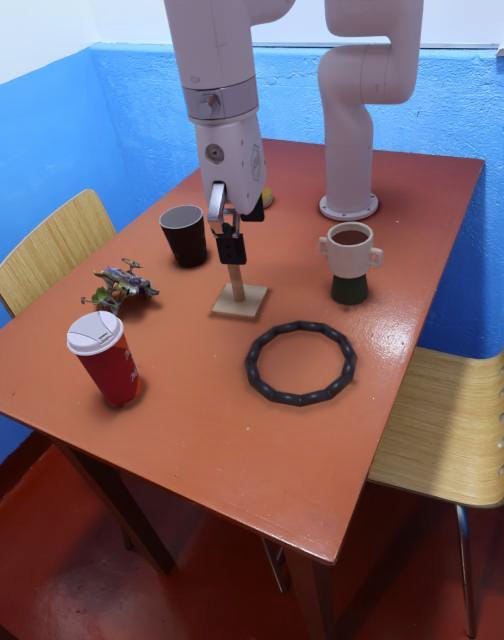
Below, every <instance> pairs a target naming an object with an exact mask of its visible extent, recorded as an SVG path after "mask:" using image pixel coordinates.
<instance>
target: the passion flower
mask: <svg viewBox="0 0 504 640" xmlns="http://www.w3.org/2000/svg"><path fill="white" fill-rule="evenodd" d="M121 261H122V262H123V263H126V264H128V265H129V269H128V270H126V271H124V270H123V269H122V268H118V267H115V266H106V268H104V270H101V271H100V273H99V272H96V270H92V273H93V275H94V276H95V277H97V278H100V279H102V280H103V281H104V283H105V285H106V287H104V286H103V285H101V286H100V287H97V288H96V289H95V293H93V294H92V295H91V300H88V299H87V300H86V296H81V297H80V303H81V304H82V305H85V304H86V303H91V304H93V306H97V305H99V304H100V310H99V311H105V308H106V307H107V306H109V308H110V310H111V313H112V314H113V315H115V316H116V317H117V314H118V313H119V312H120V310H121V309H122V306H121V305H122V304H123V303H124V300H125V299H126V298H127V297H128V296H131V297H134V296H136V295H139V296H141V297H142V298H146V299H153V296H159V295H160V290H157V289H154V288H153V283H152V282H150V280H149V279H144V278H142V277H139V276H138V275H136V274H135V273H134V272H133V269H141V268H144V266H142V265H141V264H140V263H139V262H136V261H135V260H131V259H128V258H125V257H121ZM115 284H116V285H115ZM114 292H119V295H118V298H117V299H115V298H114V296H113V293H114ZM123 292H124V293H125V294H124V296H123V297H122V299H121V295H122V293H123ZM110 301H111V302H113V303H114V304H111V303H109V302H110Z"/></svg>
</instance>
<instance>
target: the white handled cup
mask: <svg viewBox="0 0 504 640" xmlns="http://www.w3.org/2000/svg"><path fill="white" fill-rule="evenodd" d="M325 244H326V246H325ZM325 247H326V248H325ZM318 252H319V254H320V255H323V256H326V257H327V265H328V269H329V271H330V272H331V273H332V274H333V276H332V282H331V289H330V290H331V291H330V295H331V298H332V300H333V301H334V302H336V303H337V304H340V305H343V306H356V305H359V304H362V303H363V302H365V300H367V299H368V296H369V284H368V279H367V278H368V277H367V272H368V271H369V270H370V269H371V267H375V268H382V266H383V263H384V261H383V260H384V250H383V249H381V248H377V247H374V232H373V230H372V228H371V227H370V226H368V225H367V224H365V223H362V222H360V221H359V222H358V221H345V222H340V223H339V224H335V225H334V226H332V227H330V229H329V230H328V231H327V234H326V236H320V237H318ZM373 255H375V256H376V259H373Z"/></svg>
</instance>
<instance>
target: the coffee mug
mask: <svg viewBox="0 0 504 640" xmlns="http://www.w3.org/2000/svg"><path fill="white" fill-rule="evenodd" d="M158 223H159V226H160V228H161V231H162V232H163V234H164V237H165V239H166V241H167V243H168V246H169V248H170V250H171V252H172V254H173V257H174V259H175V261H176V263H177V265H178V266H179V267H180V268H182V269H194V268H198V267H200V266H202V265H203V264H205V263H206V262H207V261H208V247H207V238H206V227H205V218H204V210H203V209H202V208H201V207H200V206H198V205H195V204H183V205H182V204H181V205H177V206H174V207H171V208H168V209H167V210H165V211H164V212H162V213H161V215H160V216H159V218H158Z"/></svg>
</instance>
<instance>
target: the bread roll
mask: <svg viewBox="0 0 504 640" xmlns="http://www.w3.org/2000/svg"><path fill="white" fill-rule="evenodd" d="M262 198H263V207H264V209H266V208H268V207H270V205H271V204H272V203H273V200H274V194H273V191H272V190H271V189H270V187H266V186H264V188H263V190H262Z"/></svg>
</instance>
